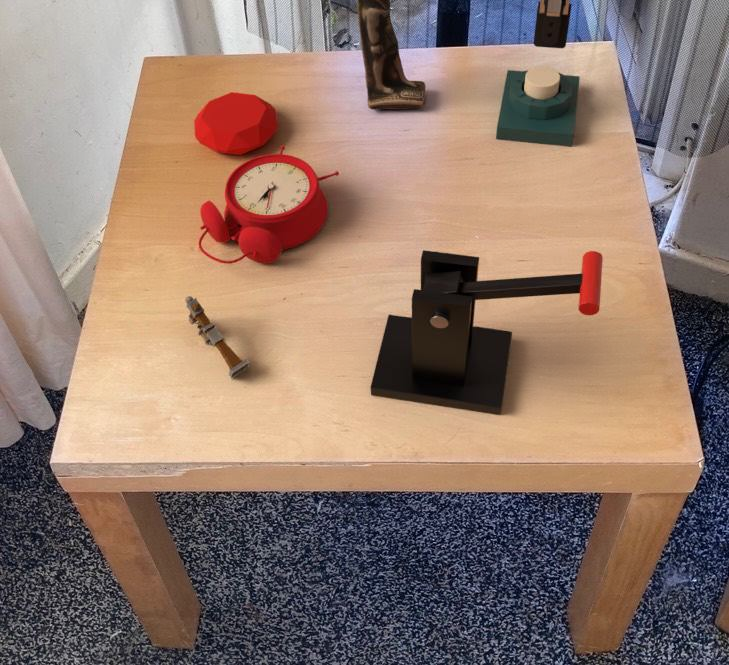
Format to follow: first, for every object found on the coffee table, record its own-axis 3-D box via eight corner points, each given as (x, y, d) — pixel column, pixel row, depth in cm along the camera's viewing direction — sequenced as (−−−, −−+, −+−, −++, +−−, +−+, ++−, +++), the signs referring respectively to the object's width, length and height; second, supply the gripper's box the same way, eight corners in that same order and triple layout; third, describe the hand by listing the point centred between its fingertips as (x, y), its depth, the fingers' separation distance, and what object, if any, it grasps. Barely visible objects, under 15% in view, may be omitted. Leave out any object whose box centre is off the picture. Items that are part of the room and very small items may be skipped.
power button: (559, 81, 92) (561, 67, 91) (556, 101, 90) (558, 88, 88) (525, 78, 93) (527, 64, 91) (522, 98, 90) (523, 85, 89)
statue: (425, 113, 95) (427, -62, 79) (362, 115, 95) (351, -59, 79) (425, 90, 97) (426, -85, 81) (363, 91, 98) (352, -82, 82)
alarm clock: (353, 170, 84) (252, 236, 75) (348, 222, 88) (252, 291, 79) (272, 133, 88) (167, 191, 79) (271, 185, 92) (171, 246, 83)
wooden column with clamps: (194, 305, 78) (196, 288, 74) (245, 375, 77) (250, 361, 73) (177, 316, 77) (178, 298, 73) (228, 386, 76) (232, 372, 72)
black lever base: (511, 339, 75) (524, 247, 66) (500, 415, 71) (513, 328, 61) (388, 322, 77) (385, 231, 68) (370, 395, 72) (363, 308, 63)
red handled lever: (604, 267, 64) (600, 245, 62) (601, 319, 61) (597, 297, 59) (437, 280, 69) (429, 259, 67) (427, 328, 66) (418, 308, 64)
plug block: (577, 88, 96) (582, 62, 93) (571, 146, 90) (576, 120, 87) (506, 82, 97) (508, 55, 95) (495, 139, 91) (498, 112, 89)
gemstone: (196, 114, 96) (190, 92, 94) (274, 103, 97) (271, 81, 95) (199, 167, 91) (193, 145, 89) (282, 155, 92) (278, 133, 89)
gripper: (617, -106, 67) (583, 90, 81) (623, -185, 76) (591, 5, 90) (521, -110, 68) (504, 84, 82) (537, -187, 77) (520, 0, 91)
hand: (549, 42), depth 86 cm, fingers closed
